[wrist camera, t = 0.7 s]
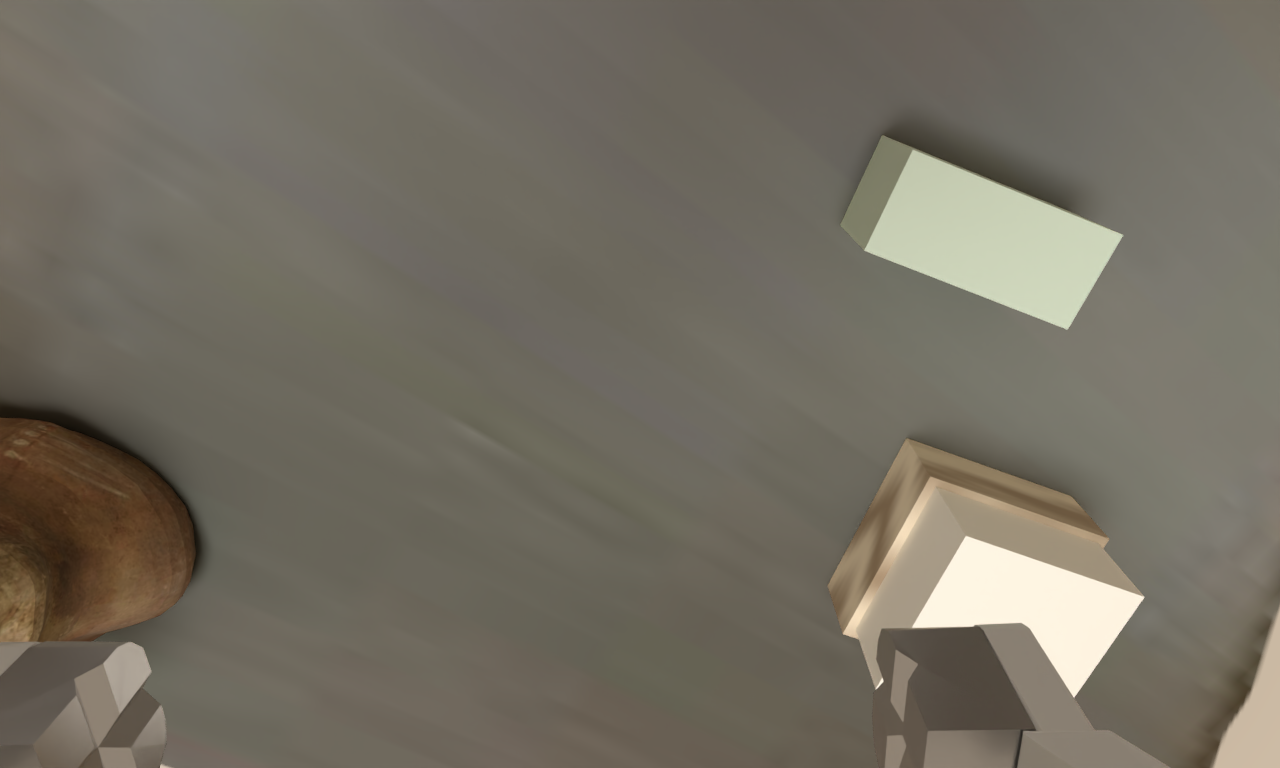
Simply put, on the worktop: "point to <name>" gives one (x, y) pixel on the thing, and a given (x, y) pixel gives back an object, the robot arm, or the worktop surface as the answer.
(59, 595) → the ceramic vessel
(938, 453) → the tower base
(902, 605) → the tower top
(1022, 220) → the green bar
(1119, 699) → the worktop surface
